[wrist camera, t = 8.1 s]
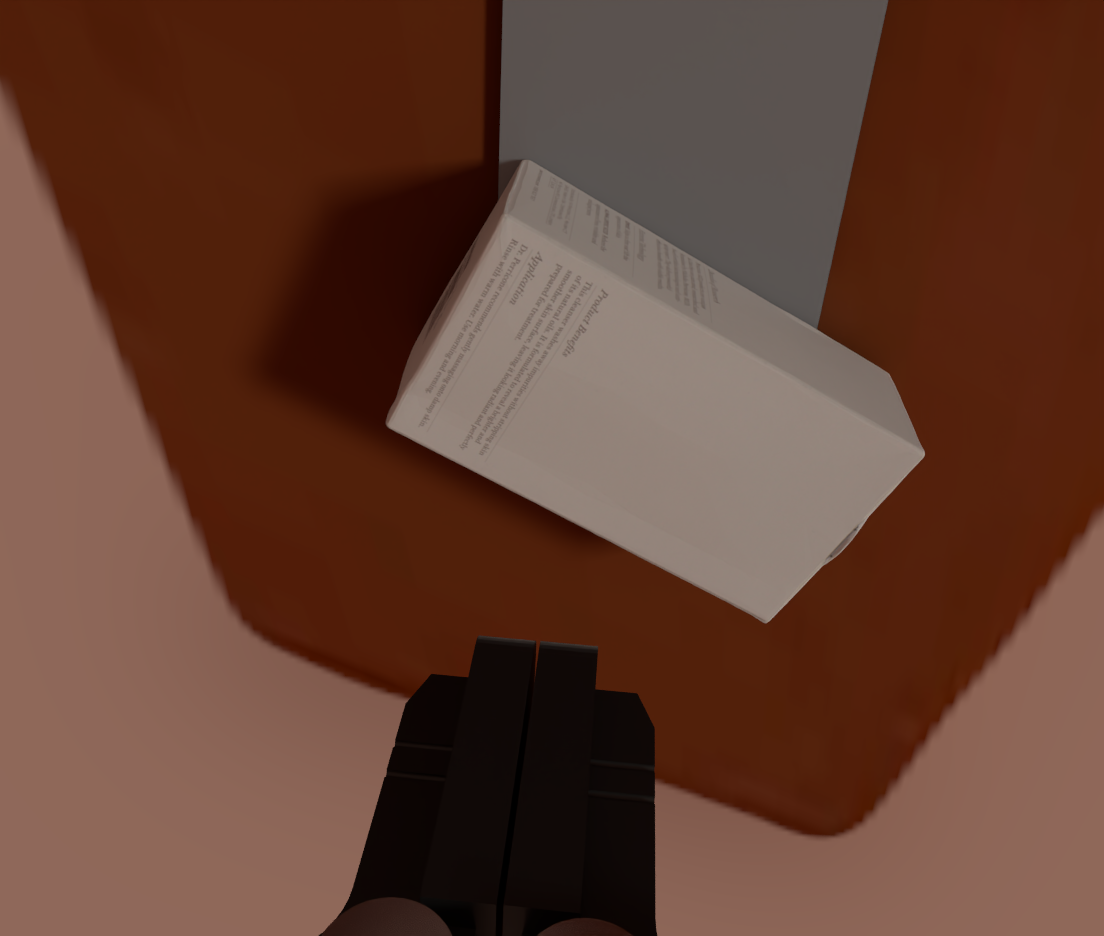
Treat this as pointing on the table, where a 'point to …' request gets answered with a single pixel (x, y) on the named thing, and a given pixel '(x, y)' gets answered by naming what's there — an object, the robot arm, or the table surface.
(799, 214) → the flat gray panel
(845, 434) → the skincare box
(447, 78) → the table surface
